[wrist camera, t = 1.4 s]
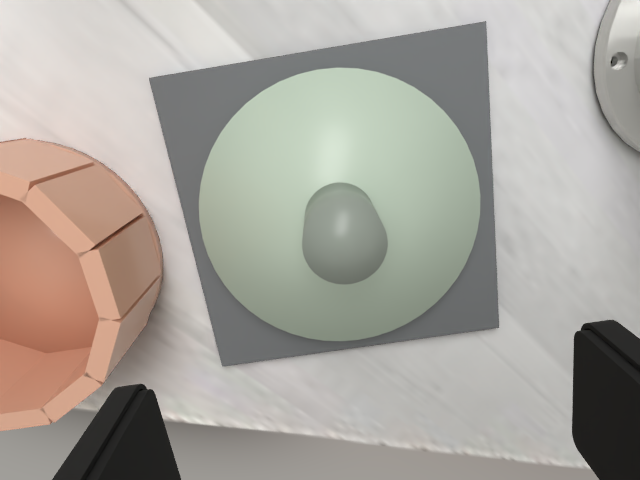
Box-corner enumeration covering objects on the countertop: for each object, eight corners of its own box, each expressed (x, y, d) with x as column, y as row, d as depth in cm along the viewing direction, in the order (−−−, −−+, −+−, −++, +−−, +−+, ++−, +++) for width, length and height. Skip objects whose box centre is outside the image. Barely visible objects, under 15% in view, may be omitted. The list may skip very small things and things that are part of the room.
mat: (482, 22, 24) (486, 21, 24) (496, 323, 30) (498, 327, 29) (152, 78, 25) (148, 78, 25) (223, 362, 31) (222, 366, 30)
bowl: (126, 121, 26) (60, 131, 19) (187, 340, 30) (150, 410, 23) (-111, 160, 26) (-255, 183, 20) (-19, 369, 31) (-112, 446, 24)
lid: (467, 44, 24) (512, 31, 19) (482, 315, 29) (521, 367, 24) (171, 94, 25) (130, 95, 19) (234, 351, 30) (215, 409, 24)
